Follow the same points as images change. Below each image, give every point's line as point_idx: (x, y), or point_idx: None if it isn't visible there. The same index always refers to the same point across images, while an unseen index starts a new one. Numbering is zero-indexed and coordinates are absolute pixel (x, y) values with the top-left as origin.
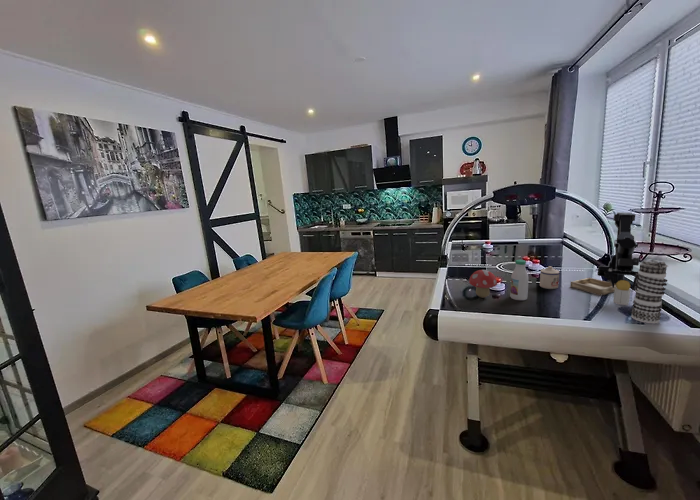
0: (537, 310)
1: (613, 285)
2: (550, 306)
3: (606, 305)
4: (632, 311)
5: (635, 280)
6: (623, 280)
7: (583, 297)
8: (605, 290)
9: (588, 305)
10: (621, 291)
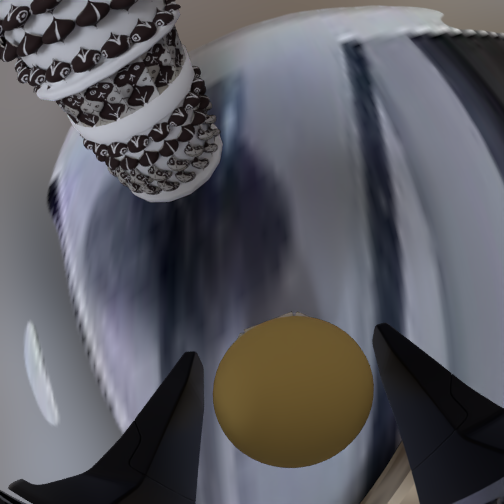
0: (471, 65)
1: (389, 333)
2: (482, 106)
3: (353, 248)
4: (214, 145)
5: (140, 451)
6: (302, 409)
7: (472, 322)
8: (387, 490)
9: (419, 188)
10: (295, 315)
